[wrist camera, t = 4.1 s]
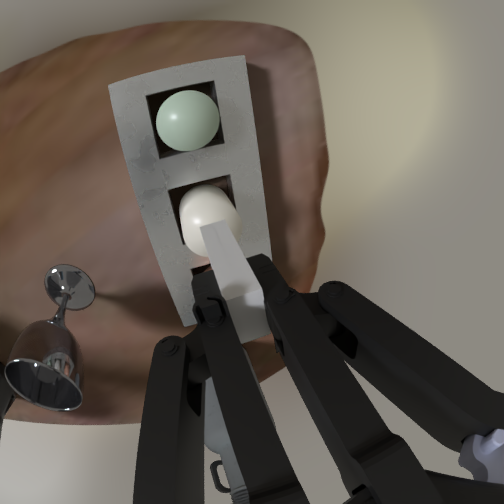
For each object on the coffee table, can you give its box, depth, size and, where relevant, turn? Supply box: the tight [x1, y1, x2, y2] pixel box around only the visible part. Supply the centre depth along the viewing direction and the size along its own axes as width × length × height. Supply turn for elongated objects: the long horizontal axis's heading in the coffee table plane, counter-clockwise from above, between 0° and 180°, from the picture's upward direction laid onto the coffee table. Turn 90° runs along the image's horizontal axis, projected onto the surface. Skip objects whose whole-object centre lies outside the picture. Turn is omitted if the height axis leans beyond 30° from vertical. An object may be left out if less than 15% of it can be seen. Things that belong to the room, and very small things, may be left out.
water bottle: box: [204, 348, 276, 504], centre depth 32 cm, size 10×10×28 cm
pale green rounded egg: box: [156, 90, 220, 151], centre depth 22 cm, size 5×5×5 cm
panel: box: [108, 55, 272, 327], centre depth 28 cm, size 12×28×3 cm, turn 8°
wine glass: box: [5, 264, 95, 411], centre depth 23 cm, size 8×8×15 cm
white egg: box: [179, 184, 243, 257], centre depth 25 cm, size 5×5×5 cm
